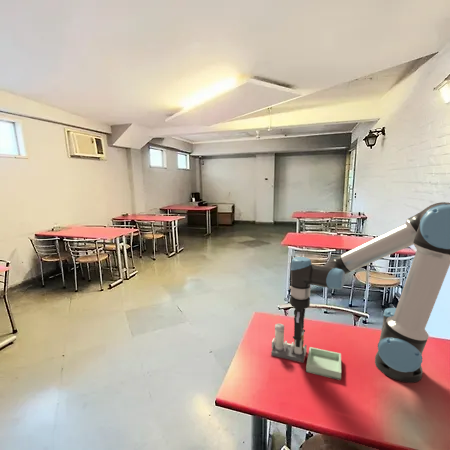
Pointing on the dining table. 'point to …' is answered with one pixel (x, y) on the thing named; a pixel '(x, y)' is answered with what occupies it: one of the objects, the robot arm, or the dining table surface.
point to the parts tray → (324, 363)
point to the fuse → (279, 337)
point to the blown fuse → (302, 342)
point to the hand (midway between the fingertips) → (298, 349)
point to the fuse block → (288, 352)
